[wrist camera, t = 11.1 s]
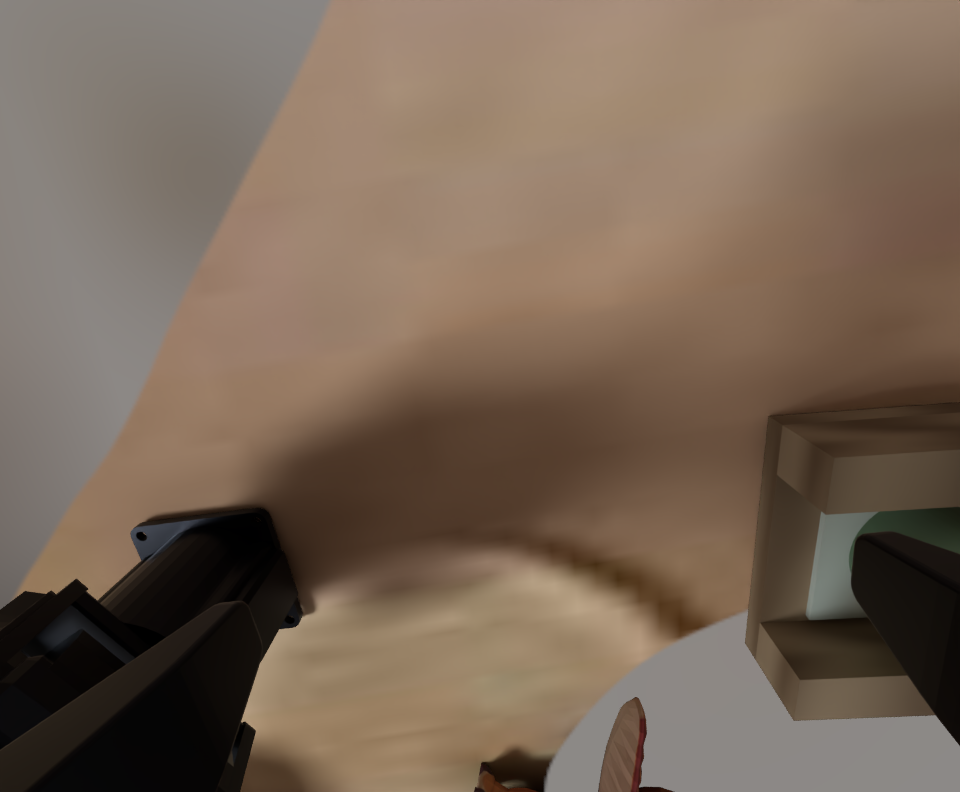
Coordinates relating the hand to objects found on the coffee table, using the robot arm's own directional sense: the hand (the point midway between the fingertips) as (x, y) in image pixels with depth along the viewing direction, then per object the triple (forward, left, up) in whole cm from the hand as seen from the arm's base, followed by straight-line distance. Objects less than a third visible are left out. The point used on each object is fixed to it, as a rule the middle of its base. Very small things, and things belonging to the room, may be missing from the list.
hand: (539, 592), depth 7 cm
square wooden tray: (+16, -10, -13) cm, 23 cm away
